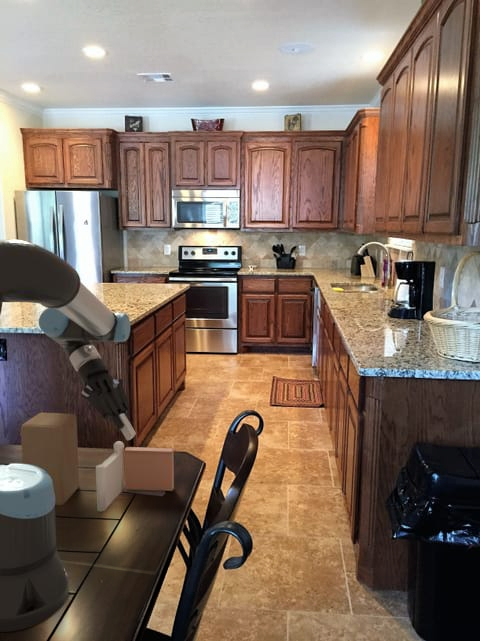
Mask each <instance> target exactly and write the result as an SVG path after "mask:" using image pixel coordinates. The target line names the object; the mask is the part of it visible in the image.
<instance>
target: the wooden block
mask: <svg viewBox="0 0 480 641" xmlns="http://www.w3.org/2000/svg"><path fill="white" fill-rule="evenodd" d="M77 417H78V416H77V415H76V414H74V413H60V412H59V413H58V412H40V413H37V414H36V415H35V416H33V417H31V418H30V419H29V420H27V421H26V422H24V423H23V424H22V425H21V427H20V440H21V442H20V443H21V459H22V460H21V461H22V464H29V465H34V466H37V467H39V468H41V469H43V470H45V471H46V472H47V473H48V475H49V476H50V477H51V479H52V482H53V489H54V494H55V506H63V505H65V504H66V503H67V502H68V500H69V499H70V498H71V497H72V496H73V495H74V493H75V492H76V491H77V490H78V489H79V487H80V473H79V451H78V450H79V448H78V426H77V425H78V420H77Z"/></svg>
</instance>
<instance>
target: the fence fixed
mask: <svg viewBox="0 0 480 641" xmlns="http://www.w3.org/2000/svg"><path fill="white" fill-rule="evenodd" d="M113 450H114V452H113V453H112V454H111V455H110V456H109V457H107V458H106V459H105V460H104V461H103V462H102V463H100V464H97V465H96V466H95V482H96V483H95V485H96V510H97V512H104V511H106V510H107V509H106V508H107V507H108V506H109V505H110V504H111V503H112V501H113V500H114V499H115V498H116V497H117V496H118V495H119V493H120V492H121V491H122V490H124V486H125V462H124V450H125V444H124V443H123V441H120V440H118V441H115V442H114V443H113ZM119 496H120V495H119ZM119 496H118V497H119ZM118 497H117V498H118ZM117 498H116V499H117ZM112 504H113V503H112ZM112 504H111V505H112ZM111 505H110V506H111Z"/></svg>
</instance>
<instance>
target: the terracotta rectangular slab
mask: <svg viewBox="0 0 480 641" xmlns="http://www.w3.org/2000/svg"><path fill="white" fill-rule="evenodd" d="M123 452H124V486H125V489H133V490H158V491H168V492H169V491H170V492H173V490H174V487H175V486H174V485H175V484H174V482H175V480H174V478H175V477H174V476H175V474H174V471H175V470H174V465H175V464H174V461H175V459H174V448H172V447H171V448H170V447H169V448H168V447H164V448H163V447H140V446H137V447H136V446H125V447H124V449H123Z"/></svg>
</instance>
